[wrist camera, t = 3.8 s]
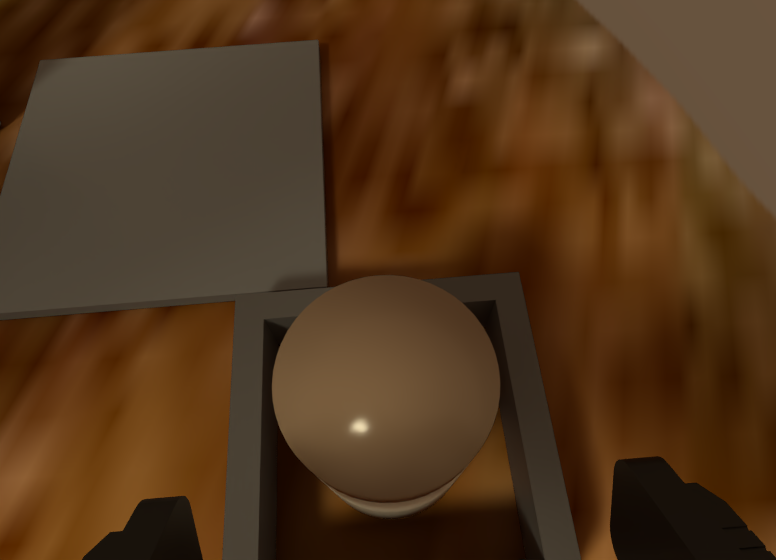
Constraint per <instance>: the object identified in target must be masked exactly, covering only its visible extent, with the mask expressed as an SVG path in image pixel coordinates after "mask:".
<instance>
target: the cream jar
mask: <svg viewBox="0 0 776 560" xmlns="http://www.w3.org/2000/svg"><path fill="white" fill-rule="evenodd" d="M272 398H273V405H274V410H275V415H276V418H277V421H278V424H279V427H280V430H281V432H282V434H283V436H284V438H285V440H286V442H287V444H288V445H289V447H290V448H291V449H292V451H293V452H294V454H295V455H296V456H297V458H298V459H299V460H300V461H301V462H302V463H303V464H304V465H305V466H306V467H307V468H308V469H309V470H310V471H311V472H312V473H313V474H314V475H316V476H317V477H318V478H319V479H320V480H321V481H322V482H323V483H324V484H326V485H327V486H328V487H329V488H330V489H331V490H332V491H333V492H334V493H336V494H337V495H338V496H339V497H340V498H341V499H342V500H343V501H345V502H346V503H347V504H348V505H349V506H351V507H352V508H354V509H355V510H357V511H359V512H361V513H363V514H366V515H368V516H371V517H375V518H380V519H402V518H408V517H411V516H414V515H417V514H419V513H421V512H423V511H425V510H427V509H428V508H430V507H431V506H433V505H434V504H435V503H437V502H438V501H439V500H440V499H441V498H442V497H443V496H444V494H445V493H446V492H447V491H448V490H449V488H450V487H451V486H452V485H453V483H454V482H455V481H456V480H457V478H458V477H459V476H460V474H461V473H462V472H463V471H464V469H465V468H466V467H467V466H468V464H469V463H470V462H471V461H472V459H473V458H474V457H475V455H476V454H477V453H478V452H479V450H480V449H481V447H482V445H483V444H484V442H485V441H486V439H487V437H488V435H489V433H490V431H491V428H492V426H493V424H494V420H495V417H496V414H497V411H498V405H499V398H500V374H499V366H498V362H497V358H496V354H495V351H494V348H493V346H492V343H491V341H490V338H489V337H488V335H487V333H486V331H485V329H484V328H483V326H482V325H481V323H480V322H479V321H478V319H477V318H476V316H475V315H474V314H473V313H472V312H471V311H470V310H469V309H468V308H467V307H466V306H465V305H464V304H463V303H462V302H460V301H459V300H458V299H457V298H456V297H454V296H453V295H451V294H450V293H448V292H446V291H445V290H443V289H441V288H439V287H437V286H435V285H433V284H431V283H428V282H425V281H422V280H419V279H415V278H411V277H406V276H397V275H376V276H369V277H363V278H359V279H355V280H351V281H349V282H346V283H343V284H341V285H338V286H336V287H334V288H333V289H331V290H329V291H327V292H325V293H324V294H322V295H321V296H320V297H318V298H317V299H315V300H314V301H313V302H312V303H311V304H310V305H308V306H307V307H306V308H305V309H304V310H303V311H302V312H301V314H300V315H299V316H298V317H297V318H296V319H295V321H294V322H293V324H292V325H291V327H290V328H289V329H288V331H287V333H286V335H285V337H284V339H283V341H282V343H281V345H280V348H279V351H278V353H277V356H276V360H275V365H274V369H273V378H272Z"/></svg>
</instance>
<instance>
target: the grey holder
mask: <svg viewBox="0 0 776 560" xmlns="http://www.w3.org/2000/svg"><path fill="white" fill-rule="evenodd" d="M422 281H425V282H428V283H431V284H433V285H435V286H437V287H439V288H441V289H443V290H445V291H446V292H448V293H450V294H451V295H453V296H454V297H456V298H457V299H458V300H459V301H460V302H462V303H463V304H464V305H465V306H466V307H467V308H468V309H469V310H470V311H471V312H472V313H473V314H474V315H475V316H476V318H477V319H478V321H479V322H480V323H481V325H482V326H483V327H485V328H486V333H487V335H488V337H489V338H490V341H491V343H492V346H493V348H494V351H495V354H496V358H497V362H498V366H499V374H500V398H499V407H500V413H501V419H502V424H503V430H504V436H505V441H506V447H507V453H508V458H509V464H510V470H511V476H512V481H513V487H514V493H515V498H516V504H517V510H518V515H519V521H520V527H521V532H522V538H523V544H524V549H525V555H526V559H520V560H581V557H580V552H579V547H578V543H577V538H576V534H575V529H574V524H573V520H572V515H571V510H570V506H569V501H568V497H567V492H566V487H565V483H564V478H563V474H562V469H561V464H560V460H559V455H558V450H557V446H556V441H555V437H554V432H553V427H552V423H551V418H550V414H549V409H548V404H547V400H546V395H545V390H544V386H543V381H542V377H541V372H540V367H539V363H538V358H537V354H536V349H535V344H534V340H533V335H532V330H531V326H530V321H529V317H528V312H527V307H526V303H525V298H524V294H523V289H522V284H521V280H520V275H519V272H511V273H498V274H486V275H474V276H462V277H450V278H438V279H426V280H422ZM333 288H334V287H329V288H317V289H304V290H292V291H280V292H268V293H256V294H244V295H236V298H235V318H234V338H233V358H232V378H231V398H230V418H229V438H228V458H227V478H226V498H225V518H224V538H223V558H222V560H276V525H277V425H278V421H277V418H276V415H275V410H274V405H273V398H272V378H273V369H274V365H275V360H276V356H277V353H278V344H281V343H282V341H283V339H284V337H285V335H286V333H287V331H288V329H289V328H290V327H291V325H292V324H293V322H294V321H295V319H296V318H297V317H298V316H299V315H300V314H301V312H302V311H303V310H304V309H305V308H306V307H307V306H308V305H310V304H311V303H312V302H313V301H314V300H315V299H317V298H318V297H320V296H321V295H322V294H324V293H325V292H327V291H329V290H331V289H333Z"/></svg>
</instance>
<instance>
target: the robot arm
mask: <svg viewBox="0 0 776 560" xmlns="http://www.w3.org/2000/svg"><path fill="white" fill-rule="evenodd" d="M610 533H611V539H612V544H613V548H614V551H615V554H616V557H617V559H618V560H776V557H775V556H774V555H773V554H772V553H771V552H770V551H767V550H766V548H765V545H764V544H763V543H762V542H761V541H760V539H759V538H758V537H757V536H756V535H755V534H754V533H753V532H752V531H749V530H748V528H747V525H746V524H745V523H744V522H743V521H742V519H741V518H740V517H739V516H738V515H737V514H736V513H735V512H734V511H733V510H732V508H731V507H730V506H729V505H728V504H727V503H726V502H725V501H724V500H722V499H720V498H719V497H717V496H716V495H714V494H713V493H711V492H710V491H708V490H707V489H705V488H704V487H702V486H700V485H699V484H697V483H687V484H685V483H684V482H683V481H682V480H681V479H680V477H679V476H678V475H677V474H676V473H675V471H674V470H673V469H672V468H671V467H670V465H669V464H668V463H667V462H666V461H665V460H664V459H663V458H661V457H658V456H656V457H645V458H633V459H621V460H618V461H617V462H616V463H615V466H614V475H613V490H612V504H611V518H610ZM82 560H203V559H202V554H201V550H200V545H199V541H198V537H197V532H196V528H195V523H194V519H193V515H192V510H191V506H190V503H189V500H188V499H187V497H185V496H177V497H165V498H154V499H144V500H142V501H141V502H140V503H139V504H138V505H137V507H136V509H135V510H134V512H133V514H132V516H131V517H130V519H129V521H128V523H127V524H126V526H125V528H124V530H123V531H118V532H110V533H109V534H108V535H107V536H106V537H105V538H103V539H102V540H101V541H100V542H99V543H98V544H97V545H96V546H95V547H94V548H93V549H92V550H91V551H89V552H88V553H87V554H86V555H85V556H84V557H83V559H82Z"/></svg>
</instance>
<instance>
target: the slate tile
mask: <svg viewBox="0 0 776 560" xmlns="http://www.w3.org/2000/svg"><path fill="white" fill-rule="evenodd" d="M317 288H328V261H327V233H326V205H325V178H324V150H323V122H322V95H321V67H320V47H319V41H318V40H309V41H295V42H282V43H268V44H255V45H241V46H227V47H214V48H200V49H187V50H173V51H159V52H146V53H132V54H118V55H105V56H91V57H78V58H64V59H50V60H40V63H39V66H38V70H37V73H36V76H35V80H34V83H33V87H32V90H31V93H30V97H29V100H28V103H27V107H26V110H25V114H24V117H23V120H22V124H21V127H20V131H19V134H18V137H17V141H16V144H15V148H14V151H13V154H12V158H11V161H10V165H9V168H8V171H7V175H6V178H5V181H4V185H3V188H2V192H1V195H0V320H8V319H20V318H32V317H44V316H56V315H68V314H80V313H92V312H104V311H117V310H129V309H141V308H153V307H165V306H177V305H189V304H201V303H213V302H225V301H235V298H236V295H244V294H256V293H268V292H280V291H292V290H304V289H317Z"/></svg>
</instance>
